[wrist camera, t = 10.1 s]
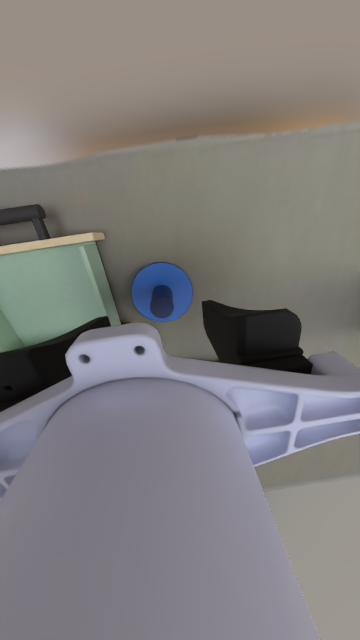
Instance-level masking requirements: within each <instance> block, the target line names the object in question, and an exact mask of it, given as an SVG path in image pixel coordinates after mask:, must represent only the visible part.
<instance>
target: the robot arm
mask: <svg viewBox="0 0 360 640" xmlns="http://www.w3.org/2000/svg"><path fill="white" fill-rule="evenodd" d="M202 310H203V322H204V328H205V331H206V334H207V336H208V338H209V340H210V342H211V344H212V346H213V348H214V350H215V352H216V354H217V356H218V359H219V362H220V363H219V362H212V361H204V360H197V359H189V358H182V357H174V356H170V355H168V354H167V353H166V352H165V351H164V349H163V345H162V341H161V337H160V335H159V333H158V331H157V329H156V328H154V327H152V326H151V325H149V324H147V323H130V324H124V325H117V326H111V324H110V321H109V318H108V316H103V317H98V318H95V319H93V320H91V321H89V322H87V323H85V324H83V325H81V326H80V327H78V328H76V329H73V330H71V331H69V332H67V333H65V334H63V335H61V336H58V337H56V338H53V339H50V340H47V341H44V342H41V343H38V344H35V345H31V346H28V347H24V348H20V349H15V350H11V351H6V352H1V353H0V499H1V500H0V640H320V638H319V635H318V632H317V630H316V627H315V624H314V622H313V619H312V617H311V614H310V611H309V609H308V606H307V604H306V601H305V598H304V596H303V593H302V591H301V588H300V585H299V583H298V580H297V578H296V575H295V572H294V570H293V567H292V565H291V562H290V559H289V557H288V554H287V552H286V549H285V546H284V544H283V541H282V539H281V536H280V534H279V531H278V528H277V526H276V523H275V520H274V518H273V515H272V513H271V510H270V507H269V505H268V502H267V500H266V497H265V494H264V492H263V489H262V487H261V484H260V481H259V479H258V476H257V474H256V471H255V468H254V467H256V466H258V465H261V464H264V463H267V462H269V461H272V460H275V459H278V458H281V457H283V456H286V455H289V454H292V453H294V452H297V451H300V450H303V449H305V448H308V447H311V446H314V445H317V444H320V443H323V442H326V441H330V440H334V439H337V438H341V437H345V436H350V435H355V434H360V369H359V368H358V367H356V366H355V365H353V364H352V363H350V362H349V361H347V360H346V359H344V358H343V357H342V356H340V355H339V354H337V353H336V352H328V353H322V354H316V355H312V356H310V357H309V358H308V359H306V358H305V357H304V356H303V355H302V354H303V350H302V349H301V348H300V347H298V346H299V340H300V335H301V322H300V319H299V318H298V316H297V315H296V314H294V313H292V312H291V311H289V310H288V309H277V310H244V309H238V308H233V307H230V306H226V305H223V304H220V303H218V302H215V301H212V300H208V301H202Z"/></svg>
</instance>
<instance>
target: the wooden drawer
mask: <svg viewBox="0 0 360 640" xmlns="http://www.w3.org/2000/svg"><path fill="white" fill-rule="evenodd" d="M45 218H46V214H45V211H44V209H43V208H42V207H41V206H40V205H38V204H36V205H29V206H22V207H16V208H9V209H2V210H0V225H6V224H13V223H19V222H26V221H32V222H33V225H34V227H35V229H36V232H37V234H38V236H39V239H40V240H38V241H32V242H25V243H18V244H12V245H5V246H0V353H1V352H6V351H11V350H15V349H20V348H24V347H28V346H31V345H35V344H38V343H41V342H44V341H47V340H50V339H53V338H56V337H58V336H61V335H63V334H65V333H67V332H69V331H71V330H73V329H76V328H78V327H80V326H81V325H83V324H85V323H87V322H89V321H91V320H93V319H95V318H98V317H103V316H108V318H109V321H110V324H111V326H117V325H121V322H120V319H119V316H118V313H117V310H116V306H115V303H114V300H113V297H112V294H111V290H110V287H109V284H108V281H107V278H106V274H105V271H104V268H103V265H102V262H101V259H100V255H99V252H98V249H97V246H96V243H95V241H98V240H105V237H104V233H85V234H78V235H72V236H65V237H58V238H52V239H50V236H49V234H48V231H47V229H46V226H45V224H44V221H43V219H45Z"/></svg>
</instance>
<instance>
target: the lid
mask: <svg viewBox="0 0 360 640" xmlns="http://www.w3.org/2000/svg"><path fill="white" fill-rule="evenodd" d="M131 295H132V300H133V303H134V305H135V307H136V308H137V310H138V311H139V312H140V313H141V314H142V315H144V316H145V317H147V318H148V319H151V320H154V321H159V322H167V321H171V320H174V319H176V318H178V317H180V316H181V315H183V314H184V313H185V312H186V310H187V309H188V308H189V306H190V304H191V301H192V296H193V290H192V285H191V282H190V280H189V278H188V276H187V275H186V273H185V272H184V271H183V270H182V269H180V268H179V267H177V266H176V265H174V264H171V263H166V262H156V263H152V264H150V265H147V266H146V267H144V268H143V269H142V270H141V271H139V273H138V274H137V275H136V277H135V279H134V281H133V283H132V288H131Z"/></svg>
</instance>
